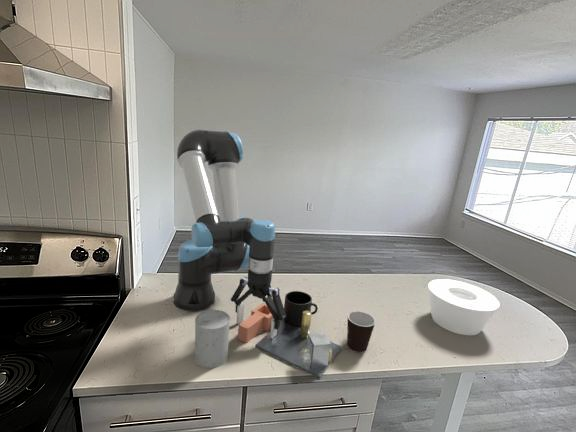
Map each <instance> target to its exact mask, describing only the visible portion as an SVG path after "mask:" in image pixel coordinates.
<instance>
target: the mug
mask: <svg viewBox="0 0 576 432" xmlns="http://www.w3.org/2000/svg"><path fill="white" fill-rule="evenodd" d="M312 306H314V308H315V309H314V310H313V311H311V310H312ZM283 307H284V310H285V313H286V318H285V319H283V320H282V321H283V322H285V323H287V324H290V325H292V326H295V327H297V328H299V329H300V328H301V324H302V315H303V311H310V312H311V316H312V315H314V314H316V313H318V309H319V308H318V305H317V304H316V303H314V302H313V298H312V296H311V295H310V294H309V293H307V292H305V291H298V290H294V291H289V292H288V293H286V294H285V297H284V305H283Z"/></svg>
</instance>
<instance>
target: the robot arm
mask: <svg viewBox="0 0 576 432" xmlns="http://www.w3.org/2000/svg"><path fill="white" fill-rule="evenodd" d="M243 154H244V147H243V143H242V140H241V138H240V136H239V135H238V134H236V133H234V132H229V131H217V130H216V131H215V130H208V129H207V130H204V129H196V130H195V129H194V130H192V131H190V132H188V133H186V134H185V135H184V136H183V138H182V139H181V140H180V142H179V144H178V147H177V151H176V156H177V157H176V158H177V163H178V165H179V166H180V168H182V171H183V174H184V178H185V183H186V186H187V190H188V194H189V198H190V202H191V206H192V207H191V208H192V211H193V214H194V215H193V216H194V219H195V223H193V224H192V226H191V233H190V235H191V239H188V240H186V241H184V242H183V243H182V244H180V246H179V248H178V254H177V260H178V265H177V266H178V268H177V269H178V270H177V271H178V274H177V275H178V276H177V277H178V280H177V281H178V282H177V285H176V288H175V291H174V293H173V295H172V296H173V297H172V298H173V299H172V301H173V303H172V304H173V305H174V307H175V308H177V309H179V310H181V311H184V312H185V311H186V312H198V311H202V310H203V311H204V310H206V309H208V308H210V307H212V306H213V305H214V304H215V302H216V293H215V290H214V286H213V283H212V275H214V274H222V273H227V272H228V273H229V272H237V271H240V270H245V269H246V268H248V270H247V276H244V277H241V278H240V279H239V284H238V286H237V288H236V289H235V291H234V293H233V294H232V296H231V297H230V302H233V303H234V305H235V314H236V324H237V325H239V324H241V323H242V322H243V321H244V314H245V313H244V312H245V302H244V301H245V300H246V299H247V298H248V297H250V296H251V295H252V297H256V298H258V299H262V303H265V304H266V305H267V307H268V309H269V311H270V312H271V314H272V316H273V319H272V322H271V329H270V332H271V333H270V332H269V333H270V338H273V337H275V336H276V335H277V329H278V328H279V327H280V323H281V322H282V321H284V320H283V319H285V318H286V313H285V310H284V305H283V302H282V299H281V295H280V288H279V287H275V288H274V287H272V285H271V283H272V278H273V276H272V275H273V266H274V265H273V264H274V250H275V249H274V248H275V242H276V241H275V239H276V226H275V225H276V224H275V223H274V222H273V221H271V220H267V219H256V220H254V219H252V218H250V217H248V216H247V217H246V216H241V217H240V211H239V202H238V199H239V198H238V189H237V187H238V186H237V179H236V177H237V176H236V175H237V174H236V169H238V167H239V166H240V165H239V163H241V162H242V160H243V158H244V157H243ZM206 162H207V164H208V169H210V170H211V171H212V177H213V188H212V186H211V182H210V179H209V176H208V172H207V169H206V166H205V163H206ZM212 189H213V190H214V192H213V190H212ZM213 193H214V194H213ZM246 285H247V287H248V290H246V292H244V294H242V293H243V291H244V289H245V287H246ZM241 294H242V295H241ZM240 295H241V296H240Z"/></svg>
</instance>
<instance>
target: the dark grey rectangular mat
mask: <svg viewBox="0 0 576 432" xmlns="http://www.w3.org/2000/svg"><path fill="white" fill-rule="evenodd" d="M270 333H271V331H270V332H269V333H267V334H266V335H265V336H264V337H263V338H261V340H259V341H258V342H257V343H256V344H255V348H256V349H258V350H260V351H262V352H264V353H266V354H267V355H268V354H269V355H270V356H272V357H274V358H276V359H278V360H281V361H283V362H285V363H287V364H289V365H291V366H293V367H295V368H297V369H298V370H299V369H300V370H302V371H303V372H306V373H307V374H310V375H311V376H314V377H315V378H318V379H321V377H322V376H323V375H324V373H325V372H326V371H327V370H328V368H329V366H330V365H331V363H333V360H335V358H336V356H338V354H339V352H340V351H341V349H342V346H341V345H340V344H337V343H335V342H332V341H330V340H329V342H330V343H331V346H330V349H331V350H332V356H331V362H328V366H323V367H314V368H311V366H310V363H311V355H312V347H313V346H312V344H311V342H310V340H309V338H302V337H301V336H300V333H301V328H300V327H299V328H297V327H295V326H292V325H290V324H287V323H285V322H284V320H282V321H280V327H279V328H278V329H277V335H276V336H275V337H273V338H270Z"/></svg>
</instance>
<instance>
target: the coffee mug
mask: <svg viewBox="0 0 576 432" xmlns="http://www.w3.org/2000/svg"><path fill="white" fill-rule="evenodd" d="M375 325H376V319H375V317H374V316H372V315H371V314H370V313H368V312H365V311H360V310H354V311H351V312H349V313H348V314H347V327H346V328H347V329H346V330H347V331H346V332H347V333H346V346H347V347H348V349H350V350H351V351H353V352H355V353H364V352H366V351H367V349H368V346H369V343H370V339H371V337H372V334H373V331H374V327H375Z"/></svg>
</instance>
